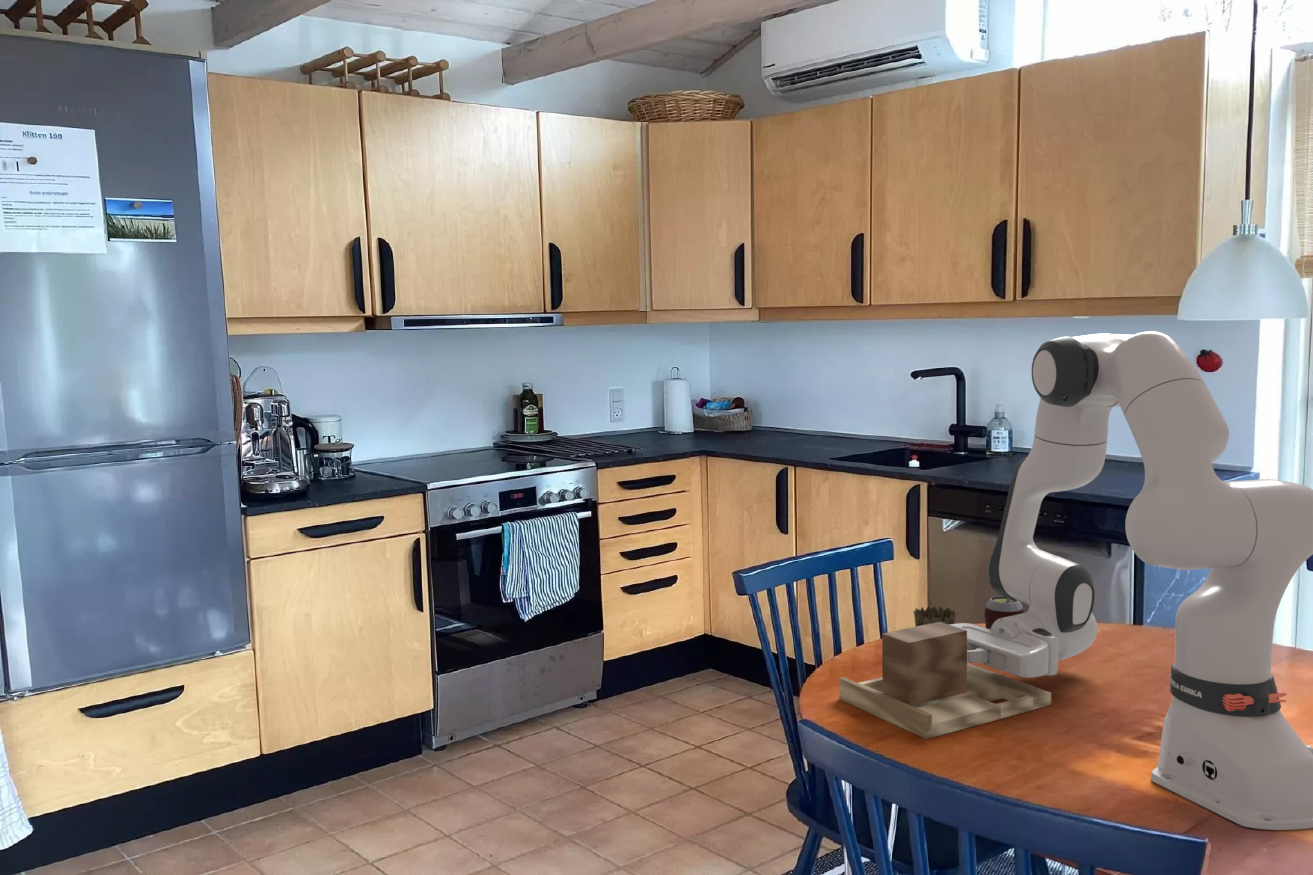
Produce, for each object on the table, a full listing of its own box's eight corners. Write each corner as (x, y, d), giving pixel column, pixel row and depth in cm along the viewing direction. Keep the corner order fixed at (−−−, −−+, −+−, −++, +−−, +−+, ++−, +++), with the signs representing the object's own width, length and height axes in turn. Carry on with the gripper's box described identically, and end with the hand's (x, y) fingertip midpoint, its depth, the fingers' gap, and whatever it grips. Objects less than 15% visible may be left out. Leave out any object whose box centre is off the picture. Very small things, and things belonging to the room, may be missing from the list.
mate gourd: (988, 634, 206) (989, 557, 204) (1031, 638, 202) (1032, 561, 201) (980, 644, 199) (981, 565, 198) (1024, 649, 196) (1025, 569, 194)
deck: (957, 671, 184) (957, 651, 184) (1051, 705, 167) (1051, 683, 167) (839, 699, 172) (839, 678, 172) (926, 739, 154) (926, 715, 154)
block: (939, 681, 173) (939, 621, 172) (966, 692, 168) (967, 630, 167) (882, 695, 167) (882, 633, 166) (908, 706, 162) (908, 642, 161)
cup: (912, 647, 199) (912, 605, 198) (952, 648, 198) (952, 605, 197) (916, 659, 191) (916, 616, 190) (958, 660, 190) (958, 616, 189)
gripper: (969, 610, 185) (909, 622, 179) (1065, 638, 167) (1002, 653, 161) (969, 645, 186) (909, 659, 179) (1065, 677, 168) (1002, 693, 161)
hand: (953, 656), depth 170 cm, fingers closed, pressing on block
